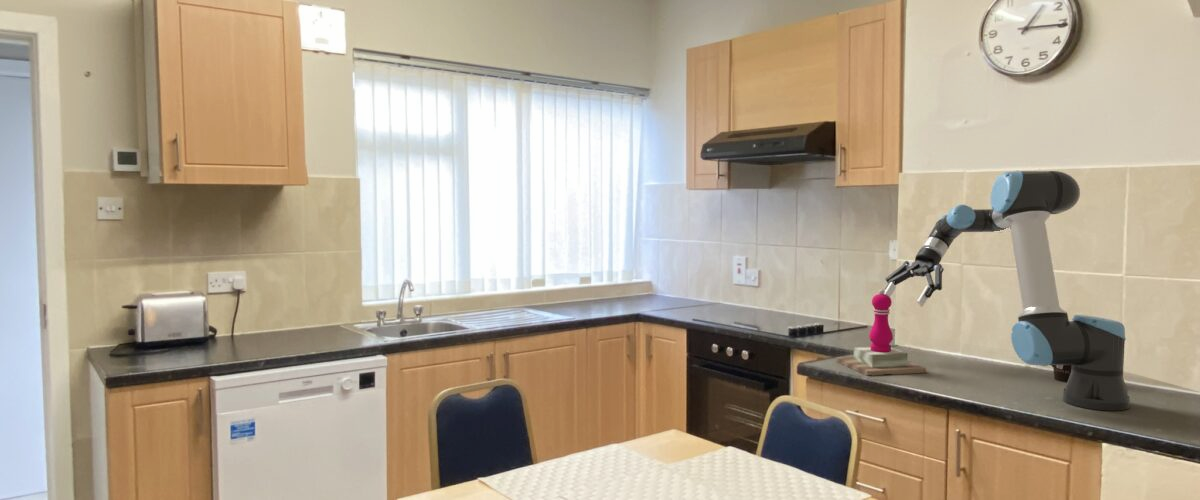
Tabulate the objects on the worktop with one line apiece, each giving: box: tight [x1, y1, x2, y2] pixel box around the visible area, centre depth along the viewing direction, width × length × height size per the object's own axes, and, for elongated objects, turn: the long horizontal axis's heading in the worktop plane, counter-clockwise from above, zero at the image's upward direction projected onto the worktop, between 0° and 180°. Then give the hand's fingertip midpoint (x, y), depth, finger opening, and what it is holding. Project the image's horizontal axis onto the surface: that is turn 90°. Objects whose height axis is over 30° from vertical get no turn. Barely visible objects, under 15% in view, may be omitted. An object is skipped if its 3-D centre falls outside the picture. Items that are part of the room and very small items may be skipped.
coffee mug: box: [1050, 365, 1072, 383], centre depth 230 cm, size 12×9×10 cm
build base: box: [836, 346, 927, 377], centre depth 247 cm, size 20×20×6 cm
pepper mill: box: [868, 289, 894, 352], centre depth 246 cm, size 7×7×20 cm
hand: (901, 301), depth 251 cm, fingers open, 13 cm apart
